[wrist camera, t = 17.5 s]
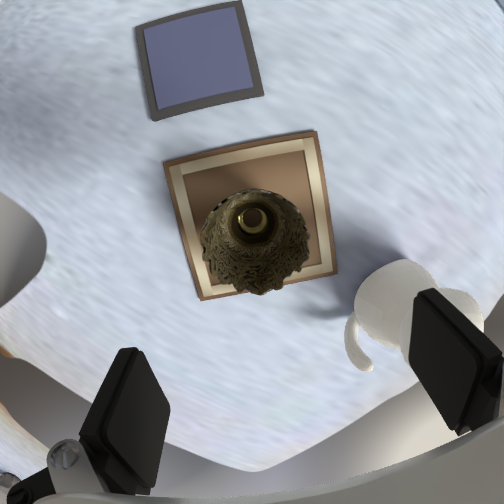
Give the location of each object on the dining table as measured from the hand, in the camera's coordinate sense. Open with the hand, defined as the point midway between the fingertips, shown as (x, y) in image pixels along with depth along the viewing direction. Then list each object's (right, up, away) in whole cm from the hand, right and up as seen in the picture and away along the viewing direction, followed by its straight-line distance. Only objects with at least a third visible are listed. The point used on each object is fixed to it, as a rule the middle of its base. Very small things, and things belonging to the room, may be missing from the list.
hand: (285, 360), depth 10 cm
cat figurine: (+13, -1, +23) cm, 26 cm away
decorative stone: (-78, -70, +44) cm, 113 cm away
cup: (-1, +7, +19) cm, 20 cm away
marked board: (-1, +7, +19) cm, 20 cm away
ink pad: (-6, +21, +14) cm, 26 cm away
